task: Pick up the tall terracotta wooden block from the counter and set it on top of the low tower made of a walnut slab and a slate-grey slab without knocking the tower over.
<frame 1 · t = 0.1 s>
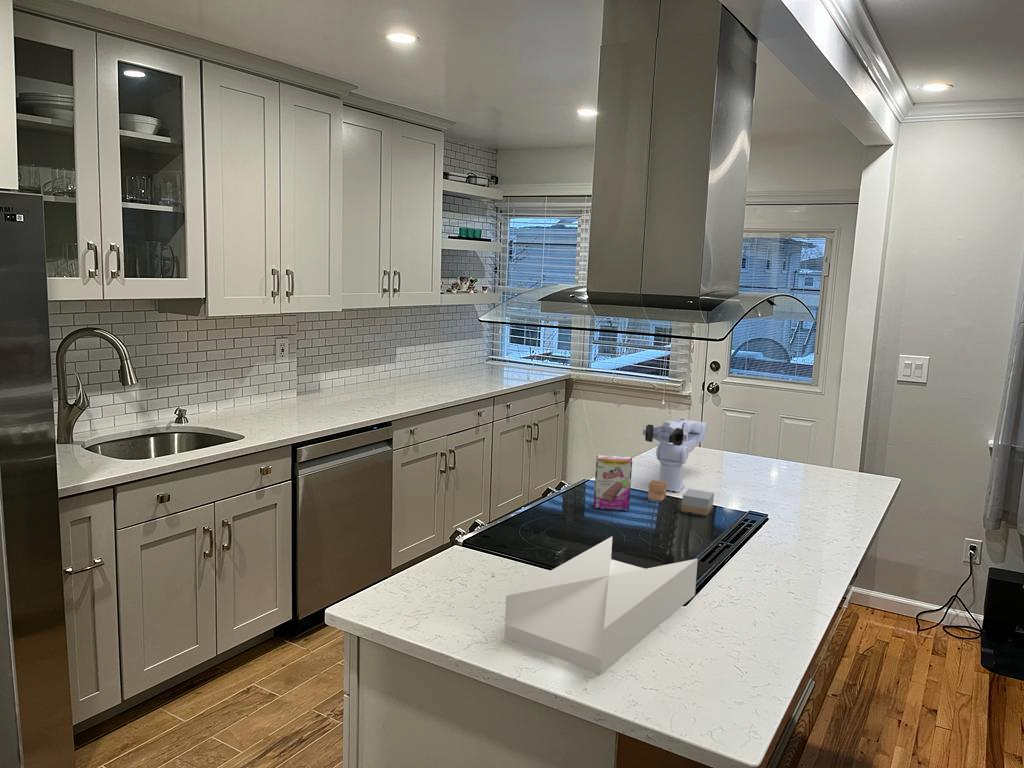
hand: (658, 437, 246), 22 cm above the counter, tool horizontal, fingers open, 7 cm apart
terracotta block: (656, 500, 252), on the counter
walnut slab: (696, 512, 243), on the counter, touching slate slab
candy bar box: (611, 508, 242), on the counter
white zigzag wedge: (606, 617, 168), on the counter
slate slab: (697, 503, 242), point 3 cm above the counter, touching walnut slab
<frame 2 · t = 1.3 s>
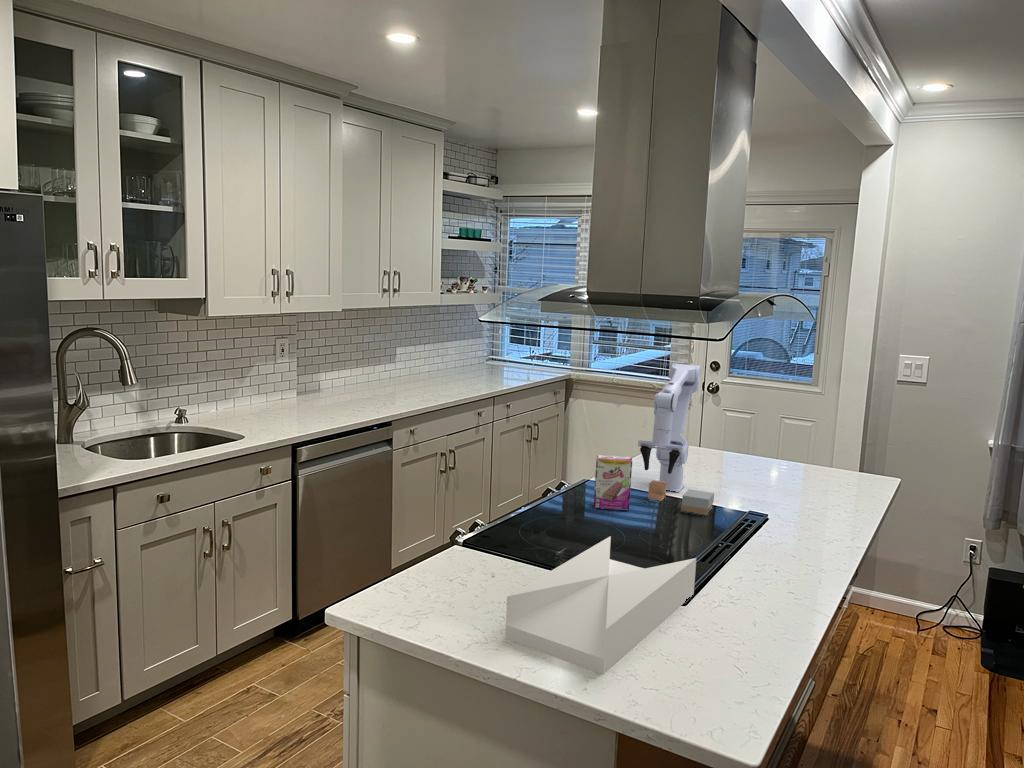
hand: (658, 471, 250), 10 cm above the counter, tool pointing down, fingers open, 7 cm apart
nothing on the counter moved.
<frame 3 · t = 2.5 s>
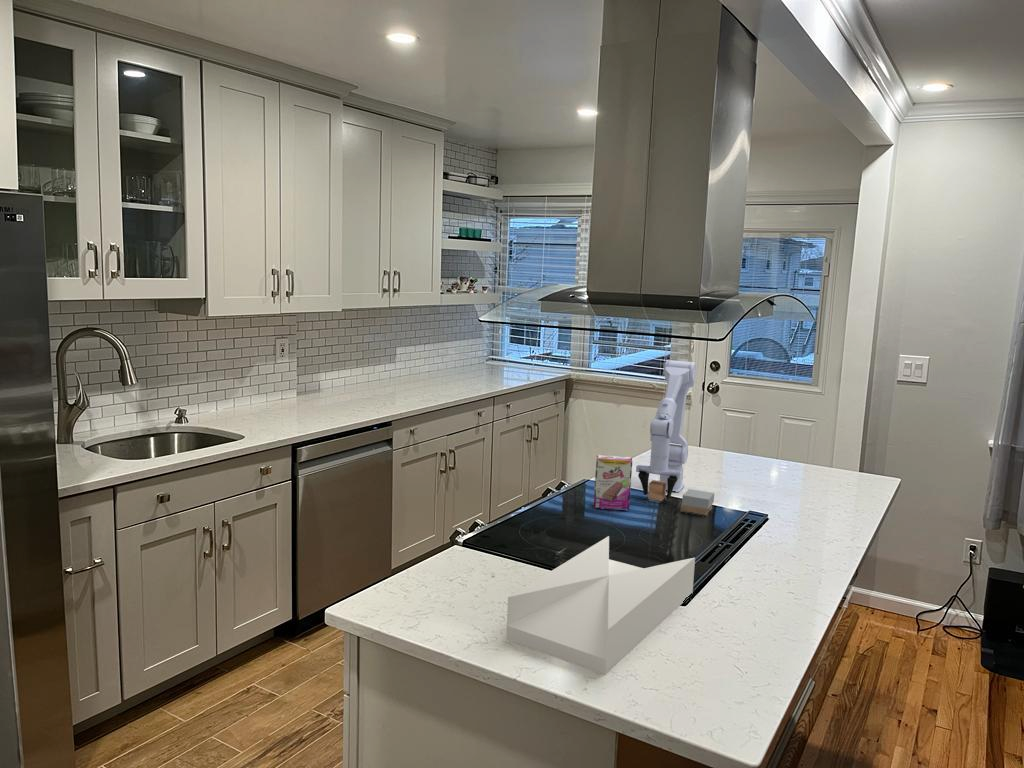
hand: (656, 496, 252), 1 cm above the counter, tool pointing down, fingers open, 7 cm apart
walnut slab: (696, 512, 243), on the counter
slate slab: (698, 503, 242), point 3 cm above the counter
everything else where it was.
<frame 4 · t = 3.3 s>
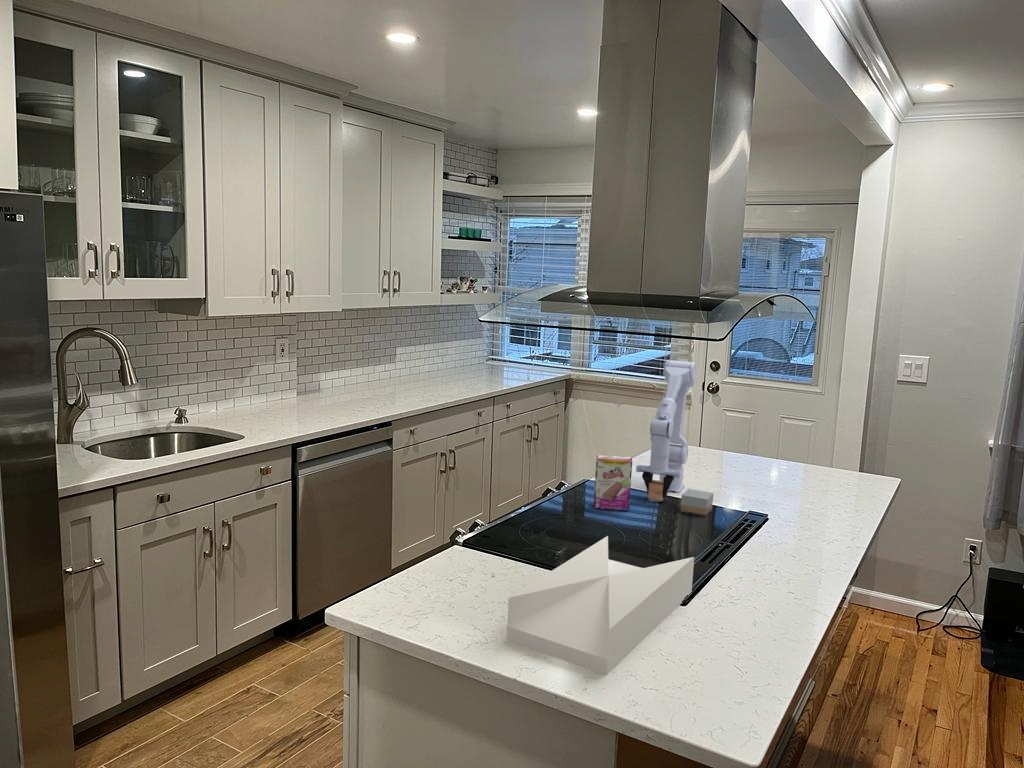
hand: (656, 496, 252), 1 cm above the counter, tool pointing down, fingers closed on terracotta block, 4 cm apart
terracotta block: (656, 500, 252), on the counter, touching gripper
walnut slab: (696, 512, 243), on the counter, touching slate slab
slate slab: (696, 503, 242), point 3 cm above the counter, touching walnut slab
everything else where it was.
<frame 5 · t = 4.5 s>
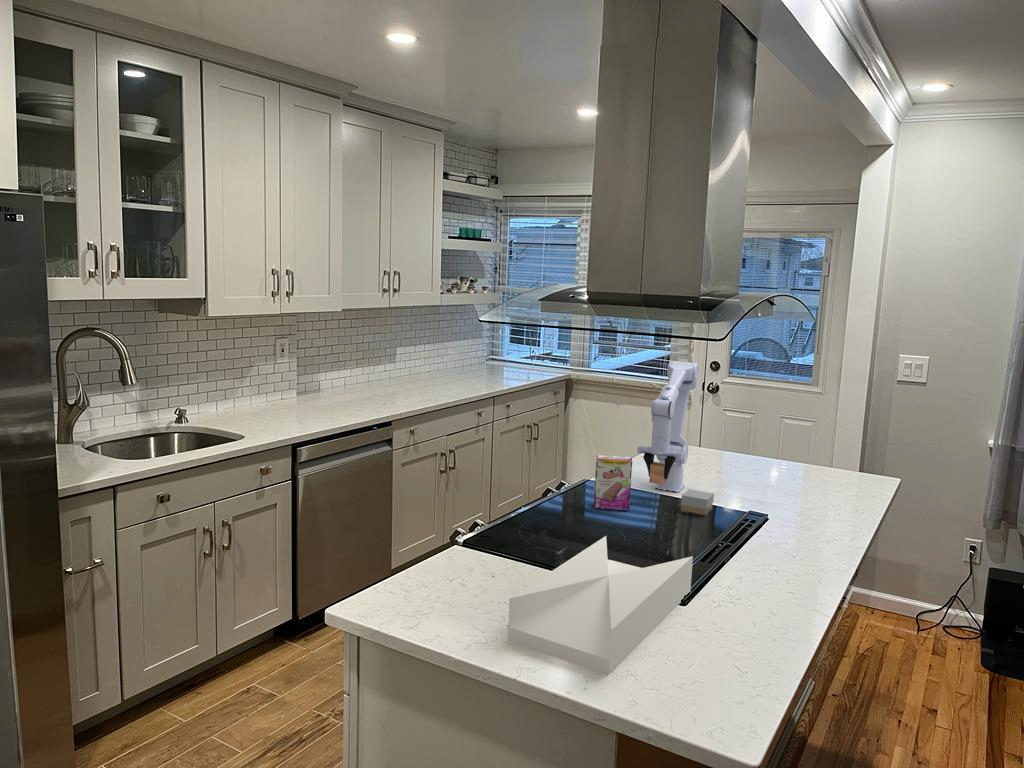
hand: (658, 477, 251), 8 cm above the counter, tool pointing down, fingers closed on terracotta block, 4 cm apart
terracotta block: (658, 481, 251), point 6 cm above the counter, touching gripper
everything else where it was.
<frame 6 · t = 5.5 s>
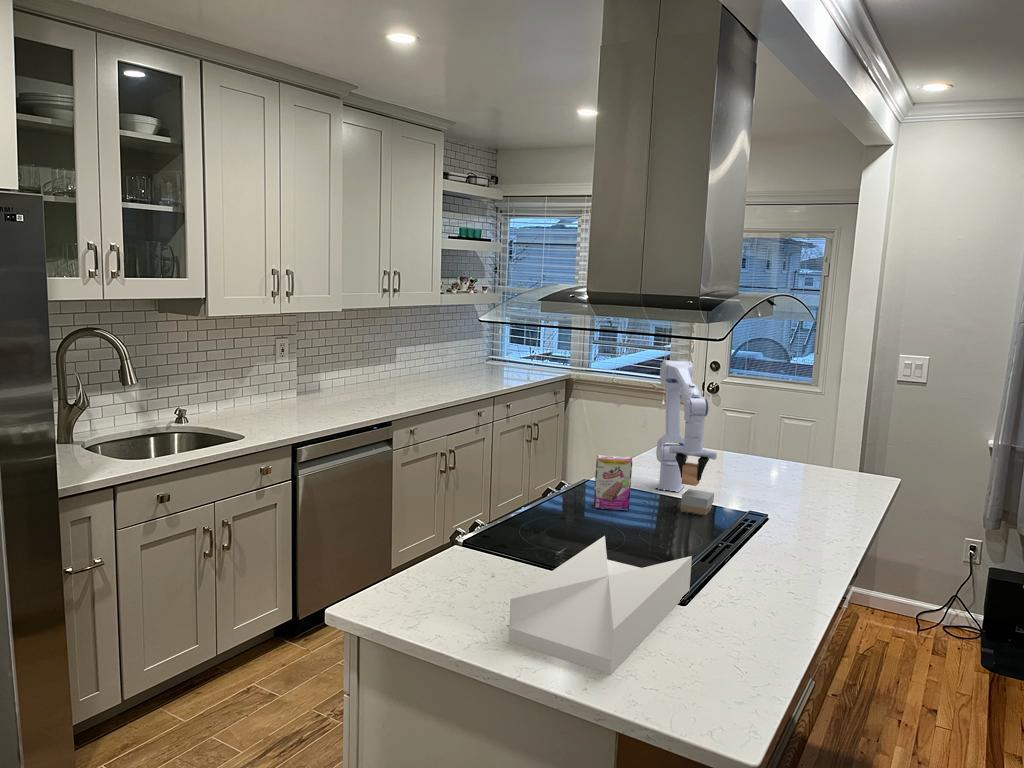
hand: (690, 478, 243), 10 cm above the counter, tool pointing down, fingers closed on terracotta block, 4 cm apart
terracotta block: (690, 483, 243), point 8 cm above the counter, touching gripper
everything else where it was.
when the fingers open (9 cm above the counter, at t = 7.0 s): terracotta block drops 1 cm, point 6 cm above the counter.
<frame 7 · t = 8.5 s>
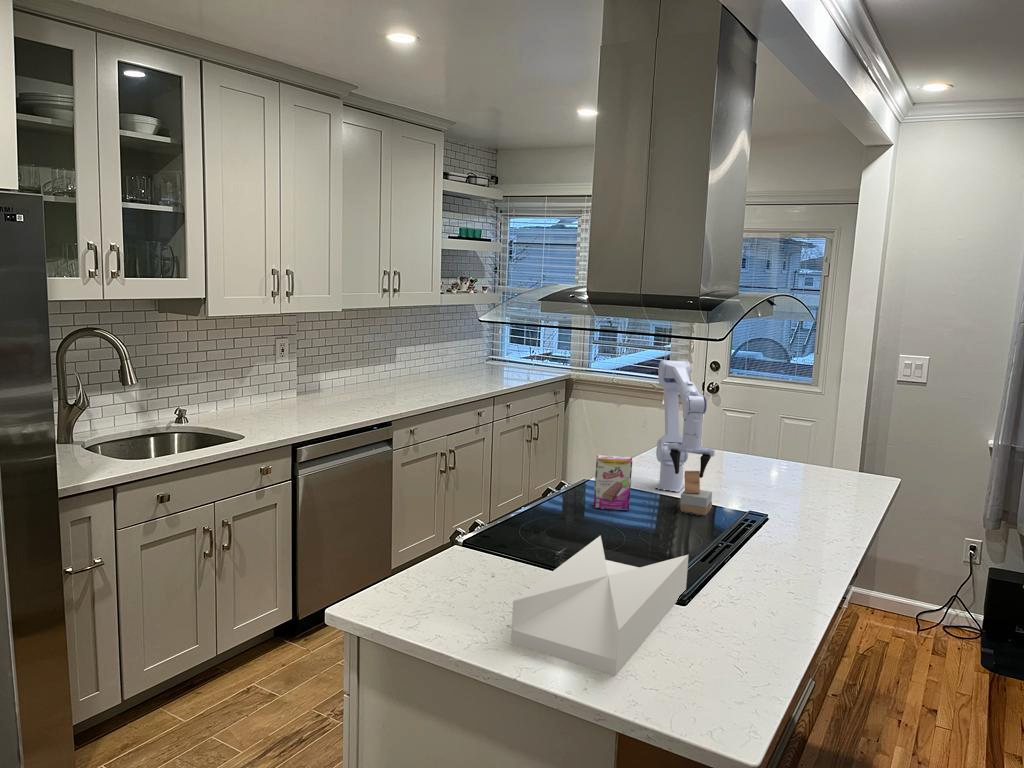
hand: (689, 475, 245), 10 cm above the counter, tool pointing down, fingers open, 7 cm apart
terracotta block: (692, 491, 243), point 6 cm above the counter, tilted 5°
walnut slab: (695, 512, 243), on the counter
slate slab: (696, 502, 242), point 3 cm above the counter
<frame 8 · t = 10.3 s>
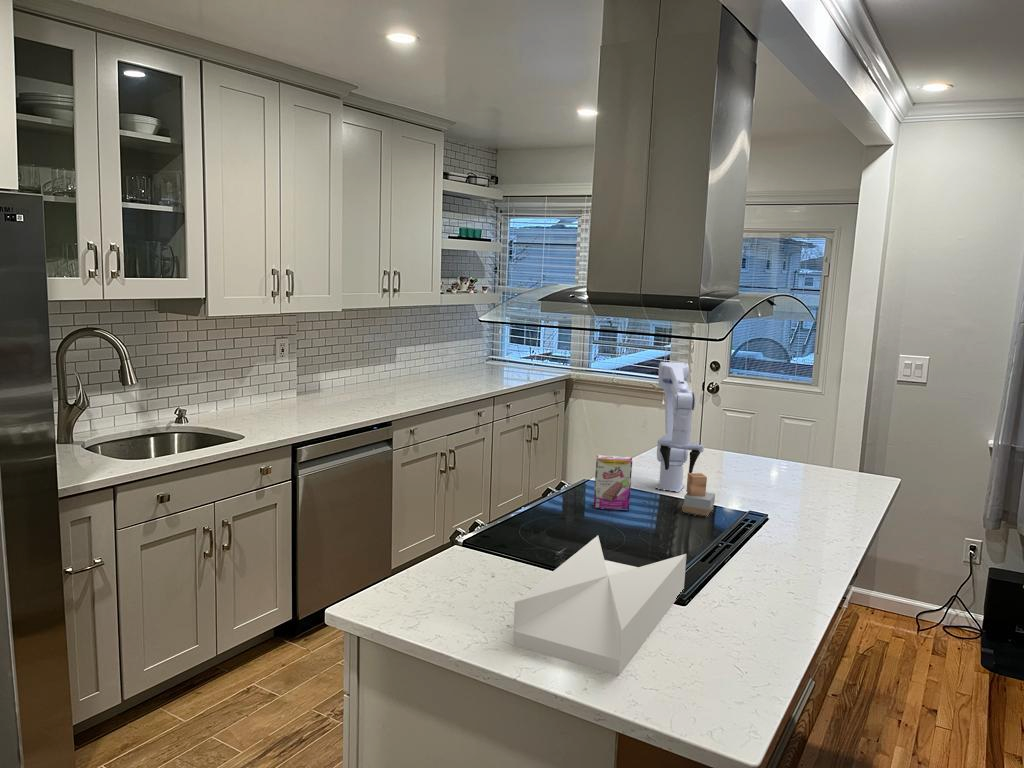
hand: (678, 470, 250), 10 cm above the counter, tool pointing down, fingers open, 7 cm apart
terracotta block: (695, 493, 242), point 6 cm above the counter
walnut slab: (697, 513, 242), on the counter, touching slate slab
slate slab: (699, 504, 241), point 3 cm above the counter, touching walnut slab
at the end: terracotta block 1.5 cm off-centre on the slate slab, point 3.0 cm above the slate slab's base; terracotta block tilted 0°; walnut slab moved 0.7 cm from its start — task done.
